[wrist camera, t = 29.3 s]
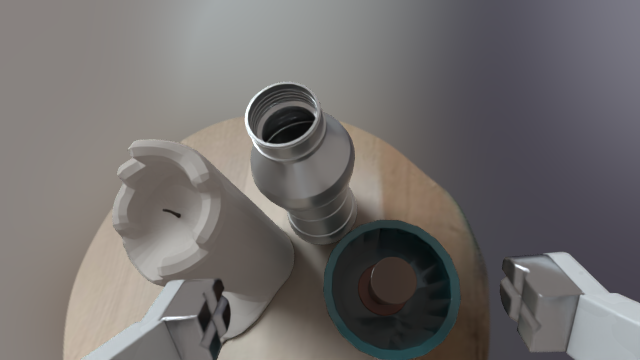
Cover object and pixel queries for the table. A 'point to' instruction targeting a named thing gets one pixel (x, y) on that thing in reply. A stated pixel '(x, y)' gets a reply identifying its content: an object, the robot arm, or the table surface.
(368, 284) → the rod with orange collar
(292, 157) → the silver metal bottle
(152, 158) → the candle
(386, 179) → the table surface
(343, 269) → the teal cup
